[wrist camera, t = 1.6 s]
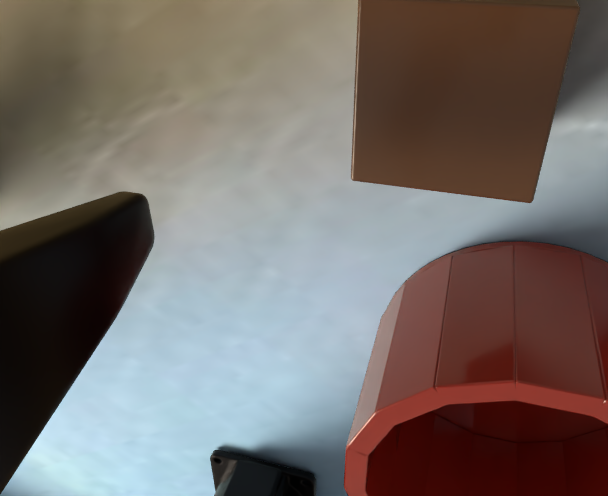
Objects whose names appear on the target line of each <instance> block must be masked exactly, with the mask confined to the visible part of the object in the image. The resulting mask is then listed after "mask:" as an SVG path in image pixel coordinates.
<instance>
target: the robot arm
mask: <svg viewBox="0 0 608 496" xmlns="http://www.w3.org/2000/svg"><path fill="white" fill-rule="evenodd" d="M153 244H154V230H153V225H152V219H151V214H150V209H149V204H148V200H147V199H146V197H145V196H144V195H142V194H139V193H132V192H118V193H115V194H112V195H109V196H106V197H103V198H100V199H97V200H94V201H91V202H88V203H84V204H81V205H78V206H75V207H72V208H69V209H66V210H63V211H60V212H57V213H54V214H51V215H48V216H44V217H41V218H38V219H35V220H32V221H29V222H26V223H23V224H20V225H17V226H14V227H11V228H8V229H4V230H1V231H0V494H1V492H2V491H3V489H4V488H5V486H6V485H7V483H8V482H9V480H10V479H11V477H12V476H13V474H14V473H15V471H16V470H17V468H18V467H19V465H20V464H21V462H22V461H23V459H24V457H25V456H26V454H27V453H28V451H29V450H30V448H31V447H32V445H33V444H34V442H35V441H36V439H37V438H38V436H39V435H40V433H41V432H42V430H43V429H44V427H45V425H46V424H47V422H48V421H49V419H50V418H51V416H52V415H53V413H54V412H55V410H56V409H57V407H58V406H59V404H60V403H61V401H62V400H63V398H64V397H65V395H66V393H67V392H68V390H69V389H70V387H71V386H72V384H73V383H74V381H75V380H76V378H77V377H78V375H79V374H80V372H81V371H82V369H83V368H84V366H85V365H86V363H87V361H88V360H89V358H90V357H91V355H92V354H93V352H94V351H95V349H96V348H97V346H98V345H99V343H100V342H101V340H102V339H103V337H104V336H105V334H106V333H107V331H108V329H109V328H110V326H111V325H112V323H113V322H114V320H115V318H116V317H117V315H118V314H119V312H120V310H121V308H122V306H123V304H124V303H125V301H126V299H127V297H128V295H129V293H130V291H131V289H132V287H133V285H134V283H135V281H136V279H137V277H138V275H139V273H140V271H141V269H142V267H143V265H144V263H145V261H146V259H147V257H148V255H149V253H150V251H151V249H152V247H153ZM210 460H211V466H212V472H213V479H214V485H215V491H216V492H215V495H214V496H316V477H315V476H314V475H312V474H311V473H308V472H305V471H301V470H297V469H293V468H289V467H285V466H281V465H277V464H273V463H269V462H265V461H261V460H257V459H253V458H249V457H245V456H241V455H237V454H233V453H229V452H225V451H221V450H214V451H213V453H212V455H211V457H210Z"/></svg>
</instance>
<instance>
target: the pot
mask: <svg viewBox="0 0 608 496" xmlns="http://www.w3.org/2000/svg"><path fill="white" fill-rule="evenodd" d="M344 489H345V491H346V492H347V494H348V496H608V262H606V261H603V260H601V259H599V258H597V257H594V256H592V255H590V254H587V253H584V252H581V251H578V250H574V249H571V248H568V247H563V246H558V245H553V244H547V243H538V242H526V241H514V242H496V243H488V244H481V245H477V246H473V247H468V248H464V249H461V250H458V251H455V252H452V253H450V254H447V255H444V256H442V257H440V258H438V259H436V260H434V261H432V262H430V263H429V264H427V265H426V266H424V267H423V268H421V269H420V270H418V271H417V272H415V273H414V274H413V275H412V276H411V277H410V278H409V279H408V280H406V281H405V282H404V283H403V285H402V286H401V287H400V288H399V289H398V291H397V292H396V293H395V294H394V296H393V298H392V300H391V301H390V303H389V305H388V307H387V309H386V311H385V312H384V314H383V315H382V317H381V320H380V324H379V327H378V331H377V335H376V338H375V342H374V346H373V349H372V353H371V357H370V360H369V364H368V368H367V371H366V375H365V379H364V383H363V386H362V390H361V394H360V397H359V401H358V405H357V408H356V412H355V416H354V419H353V423H352V427H351V430H350V434H349V438H348V441H347V445H346V453H345V473H344Z"/></svg>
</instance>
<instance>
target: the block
mask: <svg viewBox="0 0 608 496" xmlns="http://www.w3.org/2000/svg"><path fill="white" fill-rule="evenodd" d="M579 13H580V7H579V5H578V3H577V0H358V21H357V45H356V69H355V93H354V117H353V140H352V164H351V179H352V180H353V181H360V182H368V183H376V184H384V185H392V186H400V187H408V188H416V189H423V190H431V191H439V192H447V193H455V194H463V195H471V196H479V197H487V198H494V199H502V200H510V201H518V202H526V203H531V202H532V201H533V199H534V195H535V191H536V187H537V183H538V179H539V175H540V171H541V167H542V163H543V158H544V154H545V150H546V146H547V142H548V138H549V134H550V130H551V126H552V122H553V118H554V114H555V110H556V106H557V102H558V98H559V94H560V90H561V86H562V82H563V78H564V74H565V70H566V66H567V62H568V58H569V54H570V50H571V45H572V41H573V37H574V33H575V29H576V25H577V21H578V17H579Z"/></svg>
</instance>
